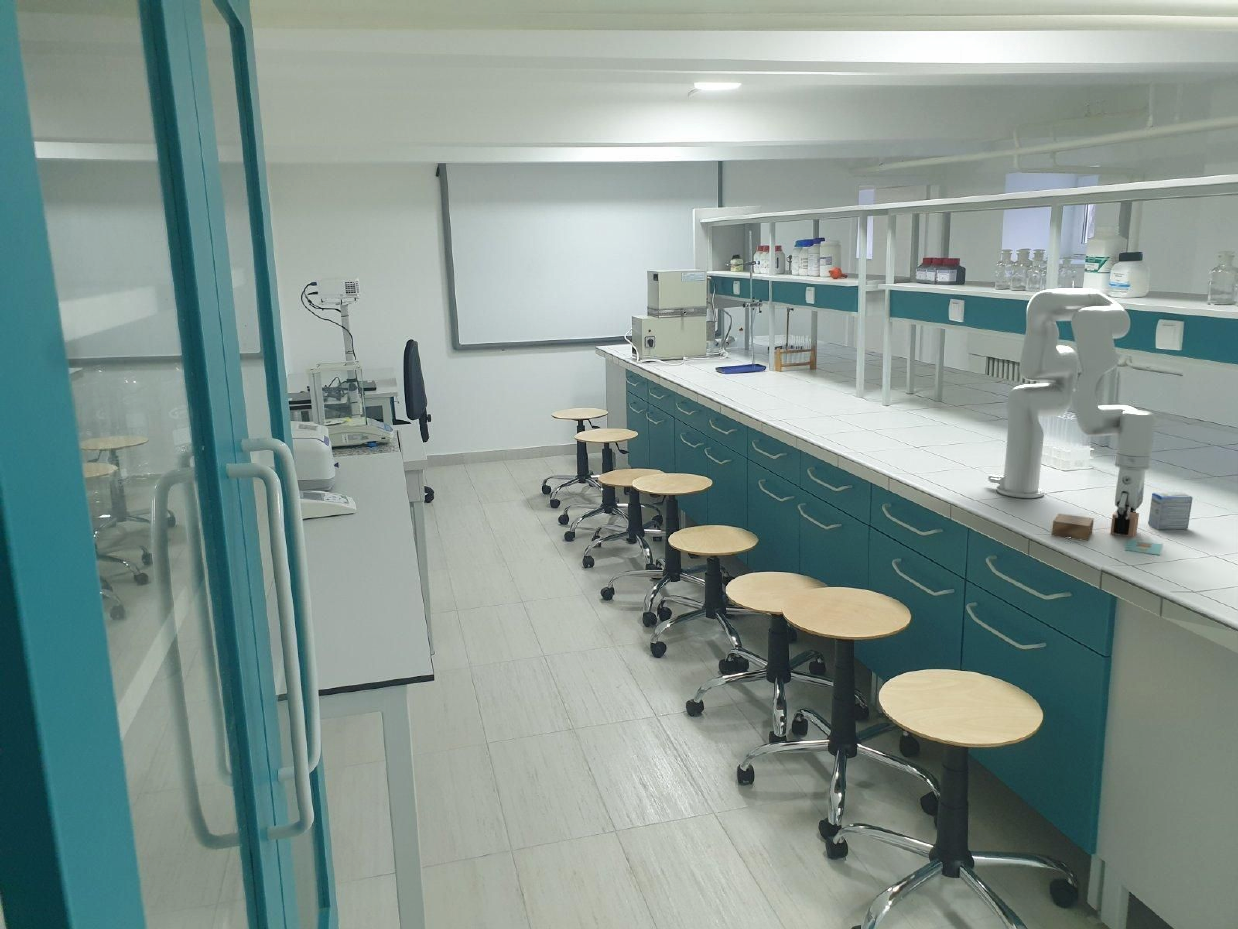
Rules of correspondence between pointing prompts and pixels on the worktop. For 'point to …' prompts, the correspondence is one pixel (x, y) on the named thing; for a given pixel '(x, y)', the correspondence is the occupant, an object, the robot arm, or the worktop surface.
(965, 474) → the worktop surface
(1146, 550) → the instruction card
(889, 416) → the worktop surface
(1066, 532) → the walnut block
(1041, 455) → the robot arm
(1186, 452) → the worktop surface
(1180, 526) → the medicine box
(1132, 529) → the painted brick
